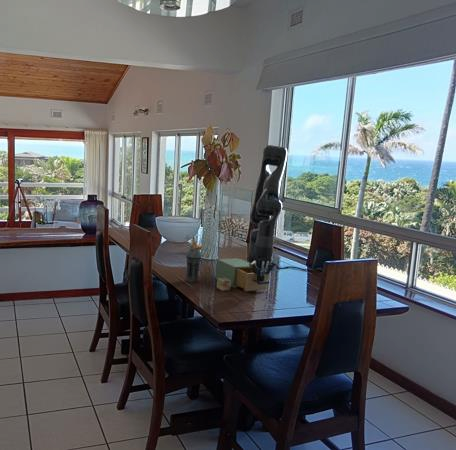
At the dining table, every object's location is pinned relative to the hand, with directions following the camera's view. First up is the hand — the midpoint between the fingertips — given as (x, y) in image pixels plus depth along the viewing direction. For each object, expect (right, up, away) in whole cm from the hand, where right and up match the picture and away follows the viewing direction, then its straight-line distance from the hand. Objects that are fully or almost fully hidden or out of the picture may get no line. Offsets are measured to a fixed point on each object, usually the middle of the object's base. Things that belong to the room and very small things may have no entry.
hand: (260, 283), depth 200 cm
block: (-15, -3, +4) cm, 16 cm away
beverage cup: (-29, -1, +13) cm, 32 cm away
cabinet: (-8, -1, +17) cm, 19 cm away
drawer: (-3, -3, +7) cm, 8 cm away
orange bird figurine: (-20, +9, +74) cm, 77 cm away
